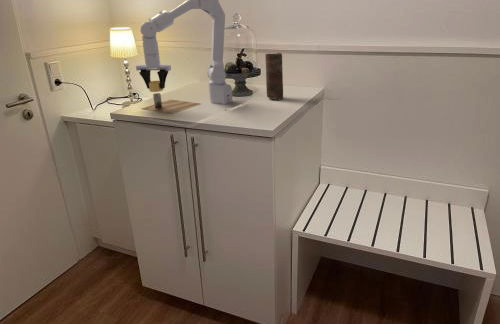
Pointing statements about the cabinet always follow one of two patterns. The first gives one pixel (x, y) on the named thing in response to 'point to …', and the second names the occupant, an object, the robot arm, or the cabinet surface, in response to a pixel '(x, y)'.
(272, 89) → the candle
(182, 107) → the walnut board
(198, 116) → the cabinet surface
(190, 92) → the cabinet surface
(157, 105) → the steel piston
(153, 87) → the wooden barrel ring
